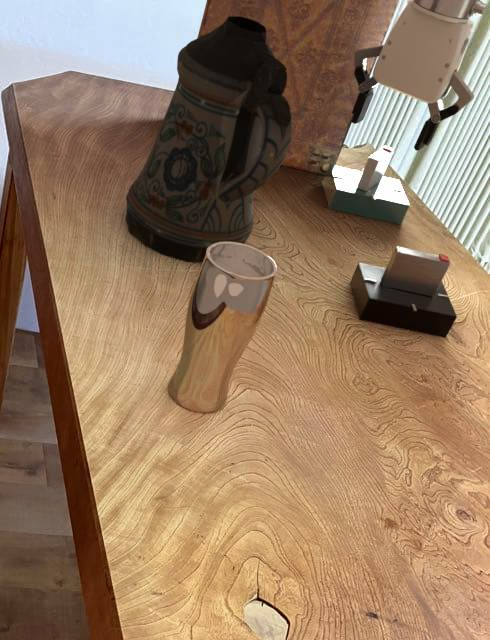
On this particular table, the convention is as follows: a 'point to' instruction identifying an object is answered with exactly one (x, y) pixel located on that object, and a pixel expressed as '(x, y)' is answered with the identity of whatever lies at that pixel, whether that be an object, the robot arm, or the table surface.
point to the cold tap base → (365, 196)
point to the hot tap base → (400, 304)
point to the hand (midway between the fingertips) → (387, 134)
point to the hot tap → (415, 271)
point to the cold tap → (375, 168)
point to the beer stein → (213, 144)
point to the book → (314, 63)
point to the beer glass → (220, 322)
